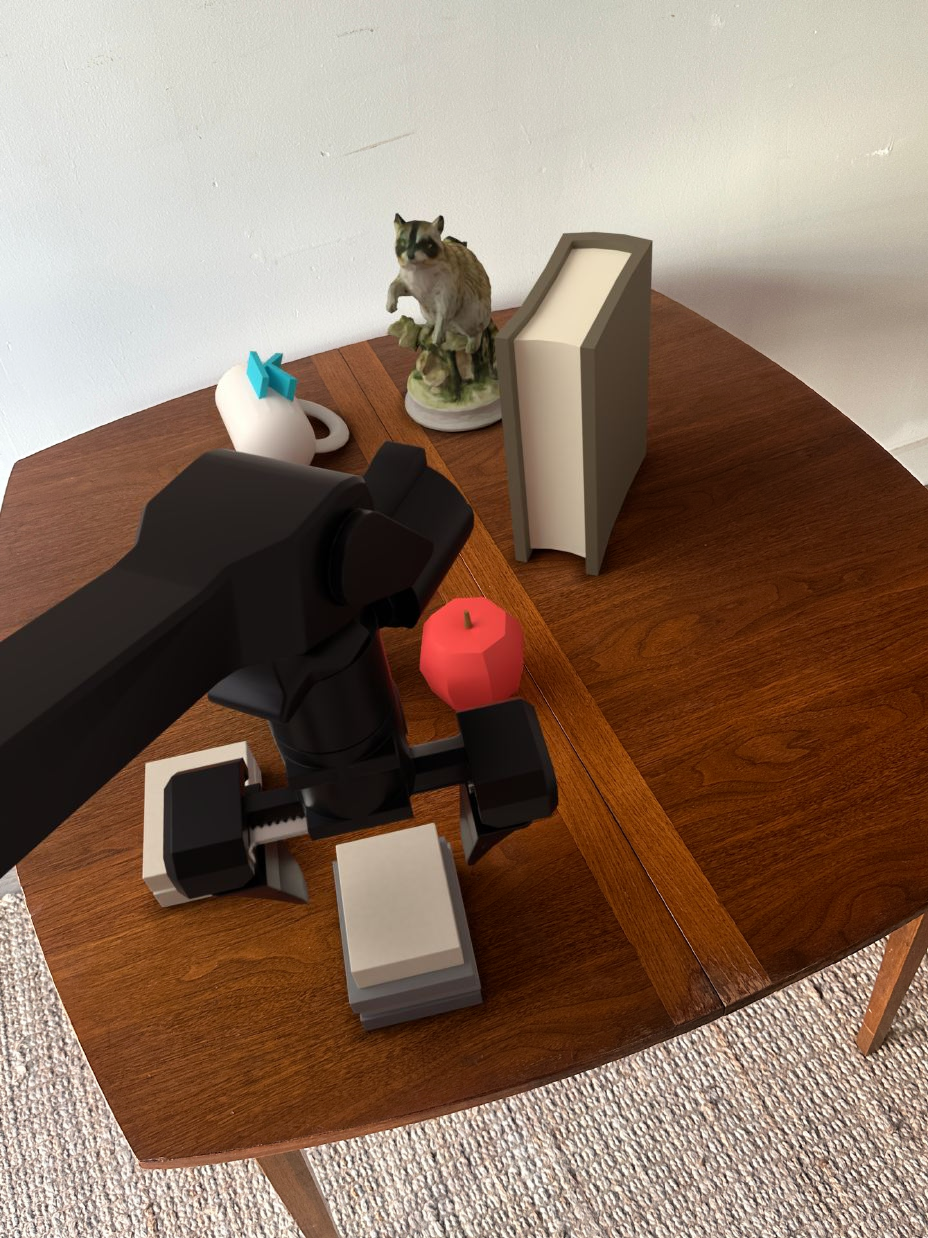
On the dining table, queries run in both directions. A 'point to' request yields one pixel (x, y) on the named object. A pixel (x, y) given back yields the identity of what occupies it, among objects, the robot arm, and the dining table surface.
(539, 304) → the book
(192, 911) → the dining table surface
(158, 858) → the white pile
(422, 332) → the figurine
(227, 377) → the mug
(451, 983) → the grey pile
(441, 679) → the apple
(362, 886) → the white block
